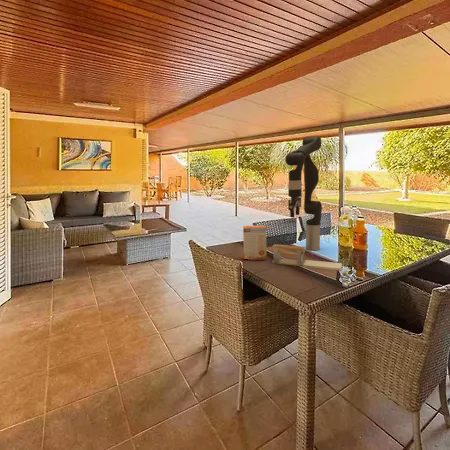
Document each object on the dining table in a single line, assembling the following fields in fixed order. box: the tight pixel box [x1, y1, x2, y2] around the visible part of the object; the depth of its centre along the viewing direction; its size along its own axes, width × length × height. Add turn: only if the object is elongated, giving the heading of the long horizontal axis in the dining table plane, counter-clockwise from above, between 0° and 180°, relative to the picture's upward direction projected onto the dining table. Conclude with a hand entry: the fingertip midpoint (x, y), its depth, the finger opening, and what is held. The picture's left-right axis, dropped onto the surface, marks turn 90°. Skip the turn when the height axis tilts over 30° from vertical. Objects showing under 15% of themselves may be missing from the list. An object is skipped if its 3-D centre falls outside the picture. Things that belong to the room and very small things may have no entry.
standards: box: [271, 248, 306, 267], centre depth 177 cm, size 8×18×9 cm, turn 66°
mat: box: [302, 259, 343, 271], centre depth 170 cm, size 10×20×1 cm, turn 66°
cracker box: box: [242, 225, 267, 261], centre depth 186 cm, size 14×6×21 cm, turn 86°
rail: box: [272, 244, 306, 256], centre depth 177 cm, size 4×18×4 cm, turn 66°
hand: (294, 216), depth 176 cm, fingers open, 8 cm apart
